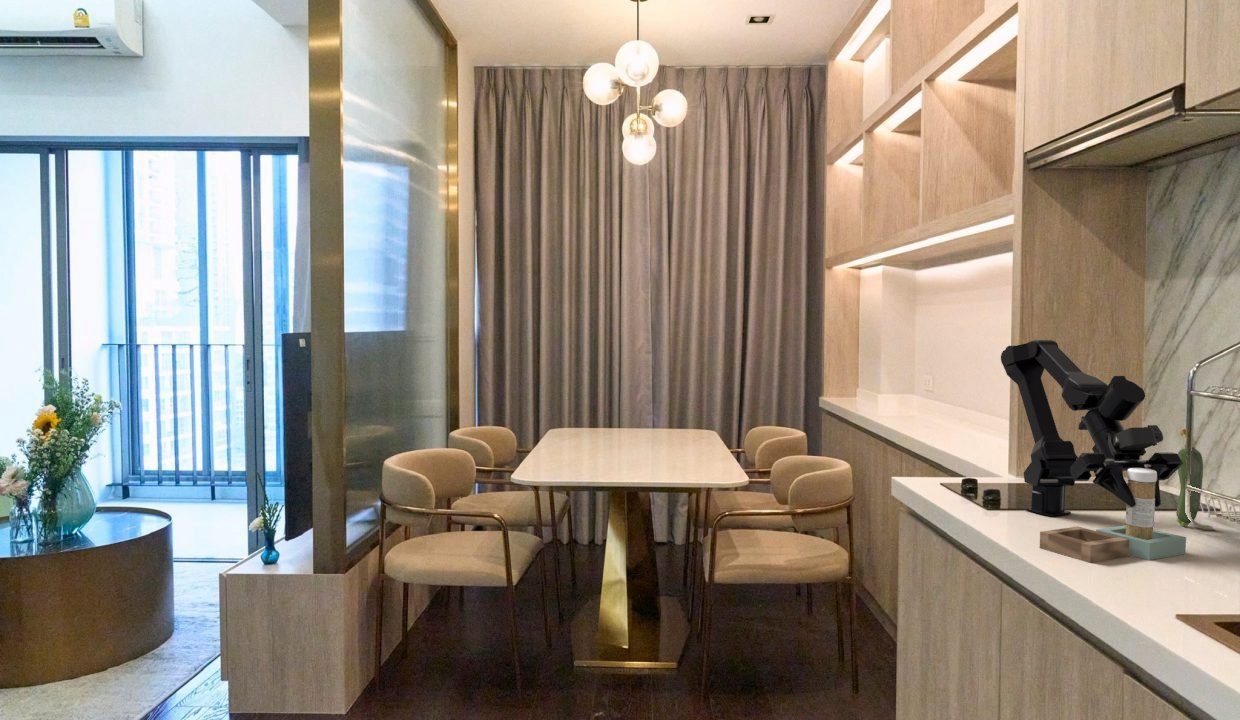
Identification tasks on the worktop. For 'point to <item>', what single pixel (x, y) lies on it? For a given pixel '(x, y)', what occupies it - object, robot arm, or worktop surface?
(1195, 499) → the vegetable
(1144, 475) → the sprinkles bottle
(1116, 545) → the walnut socket
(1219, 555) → the worktop surface
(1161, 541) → the green square socket
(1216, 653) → the worktop surface
